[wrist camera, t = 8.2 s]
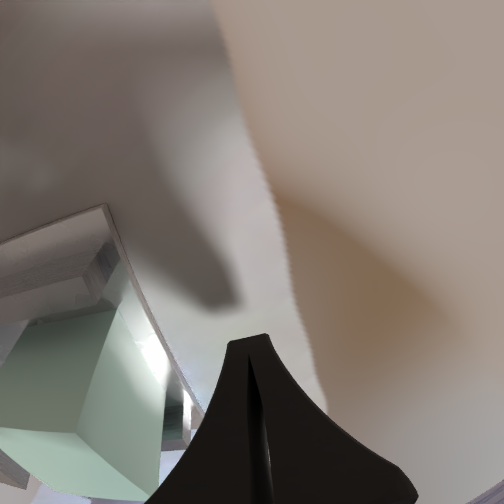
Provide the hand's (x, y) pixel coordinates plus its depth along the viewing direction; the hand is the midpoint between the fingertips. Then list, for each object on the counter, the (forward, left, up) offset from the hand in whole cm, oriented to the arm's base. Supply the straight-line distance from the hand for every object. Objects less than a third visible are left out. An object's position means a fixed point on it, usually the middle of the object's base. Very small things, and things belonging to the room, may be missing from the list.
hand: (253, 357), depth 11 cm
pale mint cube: (0, +7, -1) cm, 7 cm away
